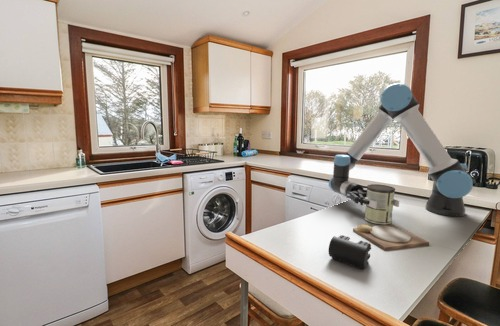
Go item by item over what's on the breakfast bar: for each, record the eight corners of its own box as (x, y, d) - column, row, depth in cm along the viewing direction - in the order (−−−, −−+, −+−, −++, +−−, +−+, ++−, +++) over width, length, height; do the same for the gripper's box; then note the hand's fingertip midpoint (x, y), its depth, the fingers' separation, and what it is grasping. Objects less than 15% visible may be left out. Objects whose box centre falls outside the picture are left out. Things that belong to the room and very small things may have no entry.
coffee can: (363, 214, 120) (366, 183, 117) (389, 217, 116) (393, 185, 114) (365, 222, 110) (368, 188, 108) (393, 226, 107) (397, 191, 104)
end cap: (327, 261, 79) (328, 239, 78) (336, 253, 84) (338, 232, 83) (362, 274, 73) (365, 250, 72) (370, 264, 78) (373, 242, 77)
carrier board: (392, 226, 107) (393, 221, 106) (429, 244, 92) (430, 238, 91) (353, 230, 102) (353, 225, 101) (384, 250, 87) (385, 243, 86)
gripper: (371, 197, 133) (409, 211, 111) (330, 199, 126) (362, 215, 105) (372, 181, 131) (411, 193, 110) (331, 183, 125) (363, 196, 104)
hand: (387, 204), depth 108 cm, fingers closed on coffee can, 10 cm apart
